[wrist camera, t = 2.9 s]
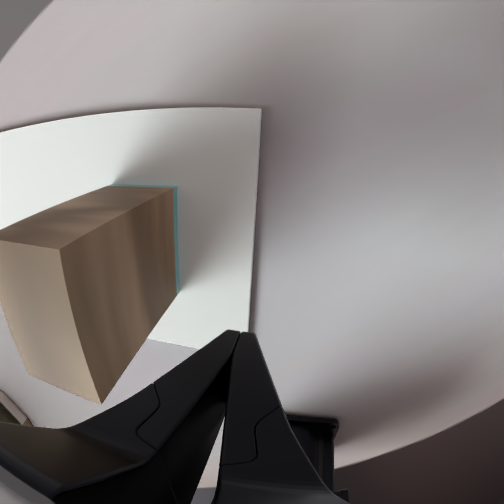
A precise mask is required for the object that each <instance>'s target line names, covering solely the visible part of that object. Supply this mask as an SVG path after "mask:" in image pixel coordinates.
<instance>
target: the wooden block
mask: <svg viewBox="0 0 504 504" xmlns="http://www.w3.org/2000/svg"><path fill="white" fill-rule="evenodd" d="M179 292H180V280H179V257H178V220H177V186H158V185H126V184H111V185H108V186H105V187H103V188H100V189H97V190H94V191H91V192H89V193H86V194H83V195H81V196H78V197H76V198H73V199H70V200H68V201H65V202H63V203H60V204H58V205H55V206H53V207H50V208H48V209H46V210H43V211H41V212H39V213H36V214H34V215H32V216H29V217H27V218H25V219H23V220H20V221H18V222H16V223H14V224H12V225H9V226H7V227H5V228H3V229H1V230H0V302H1V305H2V309H3V312H4V315H5V318H6V320H7V323H8V326H9V329H10V332H11V334H12V337H13V339H14V342H15V345H16V347H17V350H18V352H19V354H20V357H21V359H22V361H23V364H24V366H25V368H26V370H27V373H28V374H30V375H32V376H34V377H36V378H38V379H40V380H43V381H45V382H47V383H49V384H51V385H54V386H56V387H58V388H60V389H63V390H65V391H68V392H70V393H72V394H75V395H77V396H80V397H82V398H85V399H88V400H90V401H93V402H96V403H98V404H101V405H102V403H103V402H104V400H105V399H106V397H107V396H108V394H109V393H110V391H111V390H112V388H113V387H114V385H115V384H116V382H117V381H118V379H119V378H120V376H121V375H122V374H123V372H124V371H125V369H126V368H127V366H128V365H129V363H130V362H131V360H132V359H133V357H134V356H135V355H136V353H137V352H138V350H139V349H140V347H141V346H142V344H143V343H144V342H145V340H146V339H147V337H148V336H149V334H150V333H151V332H152V330H153V329H154V327H155V326H156V324H157V323H158V322H159V320H160V319H161V317H162V316H163V315H164V313H165V312H166V310H167V309H168V308H169V306H170V305H171V303H172V302H173V301H174V299H175V298H176V296H177V295H178V294H179Z"/></svg>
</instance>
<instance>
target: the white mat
mask: <svg viewBox="0 0 504 504" xmlns="http://www.w3.org/2000/svg"><path fill="white" fill-rule="evenodd" d="M261 117H262V109H258V108H227V107H196V108H165V109H148V110H134V111H123V112H113V113H104V114H96V115H88V116H81V117H74V118H68V119H62V120H56V121H50V122H45V123H40V124H35V125H30V126H25V127H21V128H16V129H12V130H8V131H4V132H0V230H1V229H3V228H5V227H7V226H9V225H12V224H14V223H16V222H18V221H20V220H23V219H25V218H27V217H29V216H32V215H34V214H36V213H39V212H41V211H43V210H46V209H48V208H50V207H53V206H55V205H58V204H60V203H63V202H65V201H68V200H70V199H73V198H76V197H78V196H81V195H83V194H86V193H89V192H91V191H94V190H97V189H100V188H103V187H105V186H108V185H111V184H126V185H158V186H177V220H178V257H179V280H180V292H179V294H178V295H177V296H176V298H175V299H174V301H173V302H172V303H171V305H170V306H169V308H168V309H167V310H166V312H165V313H164V315H163V316H162V317H161V319H160V320H159V322H158V323H157V324H156V326H155V327H154V329H153V330H152V332H151V333H150V334H149V336H148V337H147V339H152V340H157V341H161V342H166V343H171V344H176V345H182V346H187V347H192V348H198V349H201V348H202V347H204V346H205V345H207V344H208V343H209V342H211V341H212V340H213V339H215V338H216V337H217V336H219V335H220V334H221V333H223V332H224V331H226V330H228V329H230V330H237V331H240V332H249V316H250V300H251V283H252V267H253V250H254V234H255V217H256V201H257V184H258V167H259V150H260V133H261Z"/></svg>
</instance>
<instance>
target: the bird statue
mask: <svg viewBox="0 0 504 504" xmlns="http://www.w3.org/2000/svg"><path fill="white" fill-rule="evenodd" d="M0 422H4V423H11V424H17V425H25V426H32V425H31V423H30V422H29V420H28V418H27V417H26V416H25V415H24V414H23V413H22V412H21V411H20V410H19V409H18V408H17V407H16V405H15V404H14V403H13V402H12V401H11V400H10V399H9V398H8V397H7V396H6V394H5V393H3V392H2V391H0Z"/></svg>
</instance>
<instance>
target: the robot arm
mask: <svg viewBox="0 0 504 504" xmlns="http://www.w3.org/2000/svg"><path fill="white" fill-rule="evenodd" d="M224 417H225V419H224ZM223 419H224V428H223V437H222V446H221V455H220V464H219V473H218V481H217V487H216V491H215V496H214V498H213V500H212V503H211V504H349V497H348V489H343V490H340V491H334V443H333V440H334V438H335V436H336V433H337V431H338V429H339V421H338V420H336V419H321V418H307V417H295V416H286V415H285V412H284V410H283V407H282V405H281V402H280V399H279V397H278V394H277V391H276V389H275V386H274V383H273V381H272V378H271V375H270V372H269V370H268V367H267V364H266V362H265V359H264V356H263V353H262V351H261V348H260V345H259V342H258V339H257V337H256V334H255V333H251V332H240V331H237V330H230V329H228V330H226V331H224V332H223V333H221V334H220V335H219V336H217V337H216V338H215V339H213V340H212V341H211V342H209V343H208V344H207V345H205V346H204V347H202V348H201V349H200V350H198V351H197V352H196V353H194V354H193V355H191V356H190V357H189V358H187V359H186V360H184V361H183V362H182V363H180V364H179V365H177V366H176V367H175V368H173V369H172V370H170V371H169V372H167V373H166V374H165V375H163V376H162V377H160V378H159V379H157V380H156V381H155V382H154V384H153V383H152V384H150V385H149V386H147V387H146V388H144V389H143V390H141V391H140V392H138V393H137V394H135V395H133V396H132V397H130V398H129V399H127V400H125V401H123V402H121V403H119V404H118V405H116V406H114V407H112V408H110V409H108V410H106V411H104V412H102V413H100V414H98V415H96V416H94V417H92V418H90V419H88V420H86V421H84V422H82V423H79V424H77V425H74V426H71V427H67V428H60V429H53V428H42V427H33V426H25V425H17V424H11V423H4V422H0V504H190V503H191V501H192V499H193V496H194V494H195V491H196V489H197V486H198V484H199V481H200V479H201V476H202V474H203V471H204V469H205V466H206V464H207V461H208V458H209V456H210V453H211V451H212V448H213V446H214V443H215V440H216V438H217V435H218V432H219V430H220V427H221V425H222V422H223Z"/></svg>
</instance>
